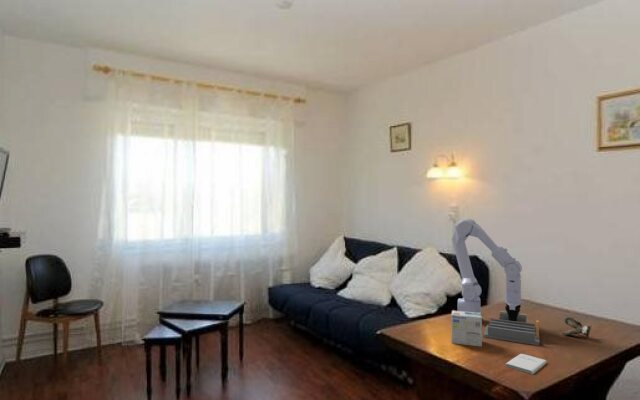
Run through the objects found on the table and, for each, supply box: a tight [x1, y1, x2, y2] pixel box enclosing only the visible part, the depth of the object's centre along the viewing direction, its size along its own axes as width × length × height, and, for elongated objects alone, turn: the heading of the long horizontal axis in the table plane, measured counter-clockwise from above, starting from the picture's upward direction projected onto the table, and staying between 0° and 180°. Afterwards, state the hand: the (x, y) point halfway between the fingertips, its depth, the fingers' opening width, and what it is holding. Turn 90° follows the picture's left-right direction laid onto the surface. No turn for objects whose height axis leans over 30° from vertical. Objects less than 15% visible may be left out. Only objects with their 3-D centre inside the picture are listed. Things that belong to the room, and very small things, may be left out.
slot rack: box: [482, 317, 540, 346], centre depth 158 cm, size 19×14×7 cm
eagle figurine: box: [561, 316, 592, 339], centre depth 158 cm, size 8×7×9 cm
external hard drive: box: [504, 353, 547, 375], centre depth 131 cm, size 2×8×12 cm
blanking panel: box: [499, 310, 527, 323], centre depth 169 cm, size 10×2×6 cm, turn 62°
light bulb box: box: [450, 309, 483, 347], centre depth 151 cm, size 11×7×11 cm, turn 71°
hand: (512, 323), depth 169 cm, fingers open, 4 cm apart
